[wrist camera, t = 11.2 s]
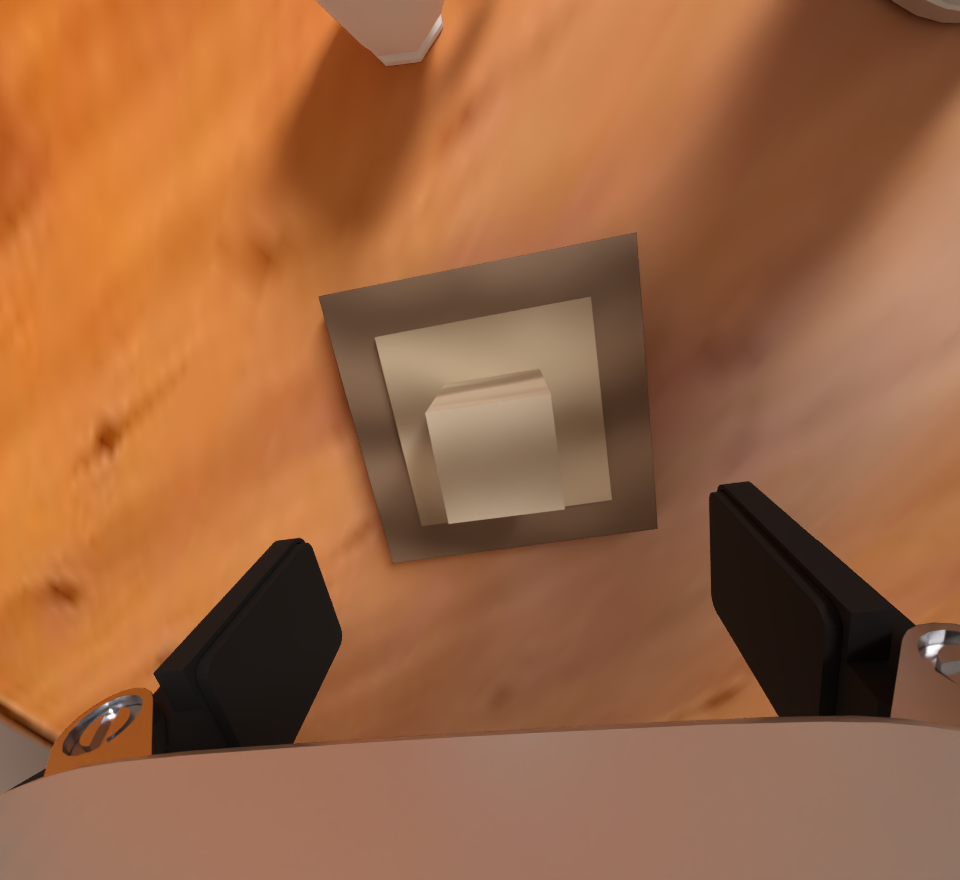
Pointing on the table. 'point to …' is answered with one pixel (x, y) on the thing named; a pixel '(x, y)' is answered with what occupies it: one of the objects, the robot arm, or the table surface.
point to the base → (497, 351)
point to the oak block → (496, 447)
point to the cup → (390, 26)
